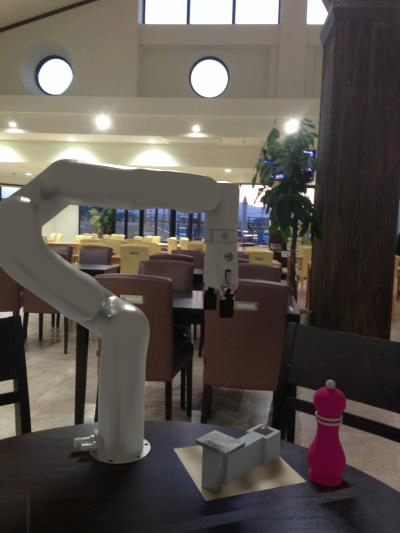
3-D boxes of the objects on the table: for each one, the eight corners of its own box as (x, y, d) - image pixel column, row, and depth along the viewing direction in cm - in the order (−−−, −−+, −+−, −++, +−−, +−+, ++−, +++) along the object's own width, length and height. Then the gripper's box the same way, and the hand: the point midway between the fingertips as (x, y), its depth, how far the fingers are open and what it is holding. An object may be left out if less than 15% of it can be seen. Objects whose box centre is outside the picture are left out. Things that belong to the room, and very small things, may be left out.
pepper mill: (347, 496, 81) (353, 388, 79) (306, 490, 82) (311, 384, 81) (342, 475, 88) (348, 375, 86) (304, 470, 89) (310, 372, 88)
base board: (205, 507, 76) (205, 500, 76) (173, 454, 94) (173, 448, 94) (306, 487, 83) (306, 481, 83) (258, 441, 101) (258, 436, 101)
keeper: (213, 477, 85) (215, 430, 85) (242, 492, 81) (245, 442, 80) (193, 489, 81) (195, 439, 80) (223, 506, 76) (226, 453, 76)
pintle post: (260, 465, 90) (262, 429, 90) (256, 461, 92) (258, 426, 91) (268, 464, 91) (270, 428, 90) (264, 460, 93) (265, 425, 92)
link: (231, 488, 80) (232, 458, 79) (210, 477, 83) (211, 448, 83) (279, 456, 92) (280, 431, 91) (259, 448, 95) (260, 423, 95)
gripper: (253, 239, 93) (249, 320, 94) (221, 237, 109) (218, 307, 110) (220, 238, 90) (216, 321, 92) (192, 236, 107) (189, 307, 108)
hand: (217, 313), depth 101 cm, fingers open, 9 cm apart
